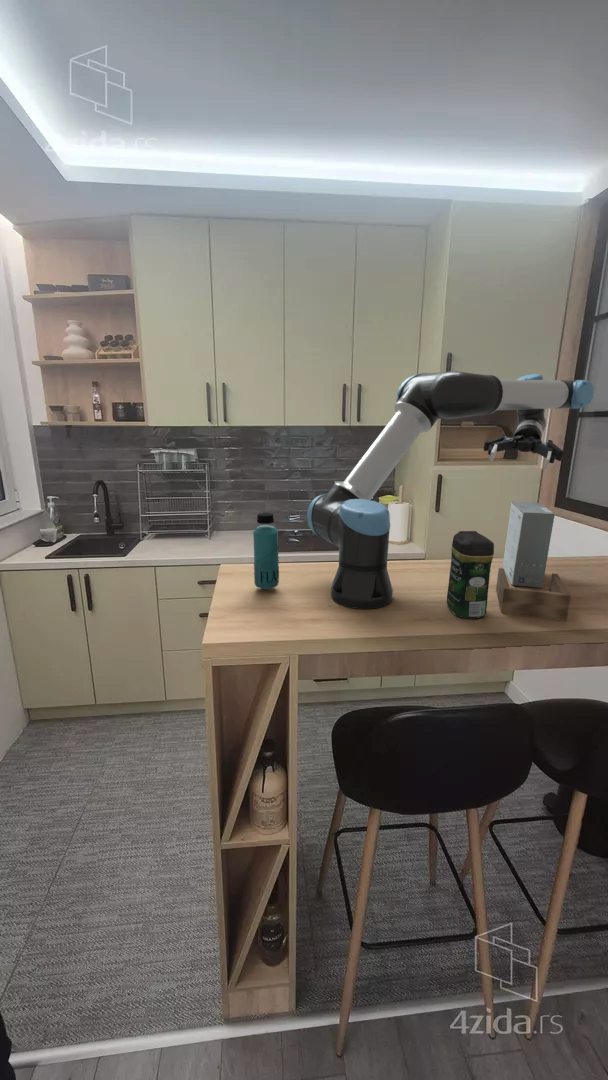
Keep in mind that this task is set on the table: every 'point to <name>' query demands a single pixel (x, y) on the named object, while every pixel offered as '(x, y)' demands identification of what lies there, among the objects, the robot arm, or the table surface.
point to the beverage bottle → (266, 553)
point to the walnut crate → (533, 599)
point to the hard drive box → (527, 543)
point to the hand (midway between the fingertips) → (518, 460)
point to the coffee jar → (469, 574)
